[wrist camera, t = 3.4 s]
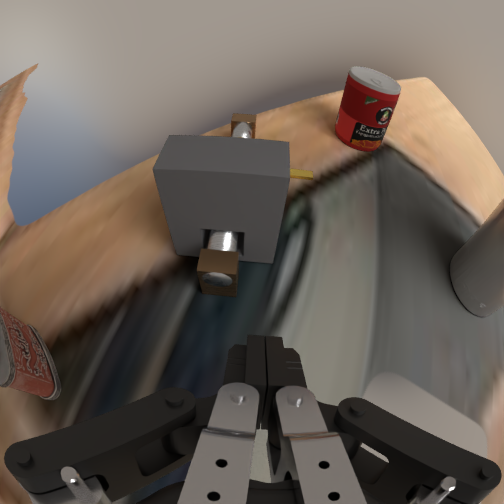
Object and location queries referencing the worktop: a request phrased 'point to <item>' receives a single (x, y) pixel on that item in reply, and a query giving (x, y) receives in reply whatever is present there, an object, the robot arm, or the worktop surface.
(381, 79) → the canned food
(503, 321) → the worktop surface
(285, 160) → the block
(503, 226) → the robot arm
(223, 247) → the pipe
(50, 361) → the lighter
